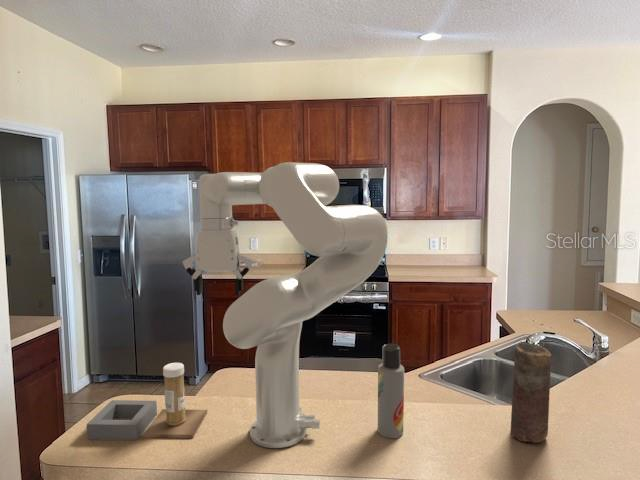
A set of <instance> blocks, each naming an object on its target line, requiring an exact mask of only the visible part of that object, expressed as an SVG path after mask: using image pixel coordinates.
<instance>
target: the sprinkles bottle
mask: <svg viewBox="0 0 640 480" xmlns="http://www.w3.org/2000/svg"><path fill="white" fill-rule="evenodd" d="M162 373H163V374H162V375H163V378H164V379H163V380H164V402H165V405H164V406H165V409H166V418H167V419H166V423H167V424H168V425H171V426H175V425H180V424H182V423H184V422H185V420H186V414H185V410H186V395H185V393H186V392H185V378H184V377H185V376H184V373H185V365H184V364H183V363H182V362H171V363H168V364H166V365H164V366H163V368H162Z"/></svg>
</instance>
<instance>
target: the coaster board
mask: <svg viewBox="0 0 640 480" xmlns="http://www.w3.org/2000/svg"><path fill="white" fill-rule="evenodd" d="M185 414H186V420H185V422H184V423H182V424H180V425H175V426H171V425H168V424H167V423H166V419H167V418H166V408H165V409H164V408H162V409H161V411H160V412H159V413H158V414H157V415H156V417H155V418H154V419H153V420H152V422H151V423H150V424H149V425H148V427H147V428H146V429H145V431H144V432H143V433H142V435H143V438H151V439H152V438H154V439H155V438H156V439H157V438H158V439H161V438H162V439H165V438H166V439H194V437H195V435H197V432H198V430H199V429H200V427H201V425H202V423H203V421H204V420H205V418H206V416H207V414H208V409H185Z"/></svg>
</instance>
